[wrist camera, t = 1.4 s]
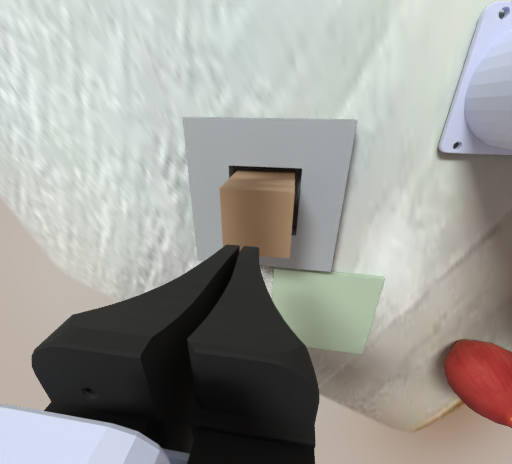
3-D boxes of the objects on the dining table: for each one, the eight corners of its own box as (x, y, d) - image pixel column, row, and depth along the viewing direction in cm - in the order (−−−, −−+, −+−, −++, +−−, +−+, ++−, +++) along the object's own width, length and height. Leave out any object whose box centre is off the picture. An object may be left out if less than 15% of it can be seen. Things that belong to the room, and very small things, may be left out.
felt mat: (383, 276, 23) (384, 279, 22) (361, 351, 27) (362, 354, 27) (274, 266, 24) (273, 269, 23) (270, 339, 28) (269, 342, 28)
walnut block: (294, 170, 20) (294, 192, 14) (290, 222, 22) (289, 258, 16) (239, 168, 20) (219, 188, 15) (240, 218, 22) (223, 252, 17)
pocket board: (352, 119, 17) (357, 120, 16) (328, 262, 23) (330, 271, 21) (190, 116, 19) (182, 117, 18) (203, 251, 24) (198, 259, 23)
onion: (507, 348, 24) (595, 447, 17) (447, 369, 26) (503, 464, 19) (478, 311, 23) (561, 402, 16) (417, 336, 25) (466, 426, 18)
